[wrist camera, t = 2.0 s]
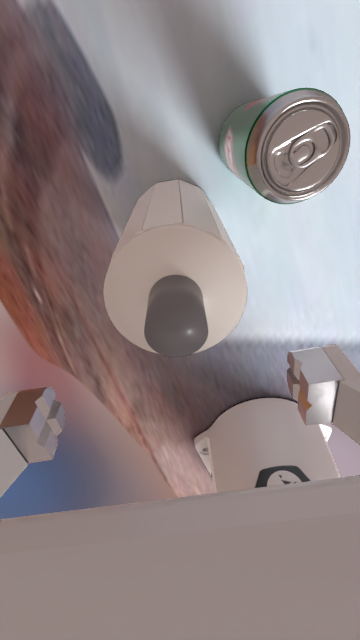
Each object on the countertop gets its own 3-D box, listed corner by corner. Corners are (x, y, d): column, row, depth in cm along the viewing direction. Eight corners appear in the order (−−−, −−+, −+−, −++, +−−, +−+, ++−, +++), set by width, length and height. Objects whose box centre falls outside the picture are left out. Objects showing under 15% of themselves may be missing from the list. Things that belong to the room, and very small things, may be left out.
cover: (219, 256, 30) (263, 382, 15) (143, 269, 30) (116, 402, 16) (210, 173, 26) (259, 235, 11) (123, 188, 26) (64, 267, 12)
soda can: (205, 132, 24) (228, 138, 14) (262, 85, 23) (335, 54, 13) (238, 188, 27) (278, 228, 16) (292, 148, 25) (374, 165, 15)
